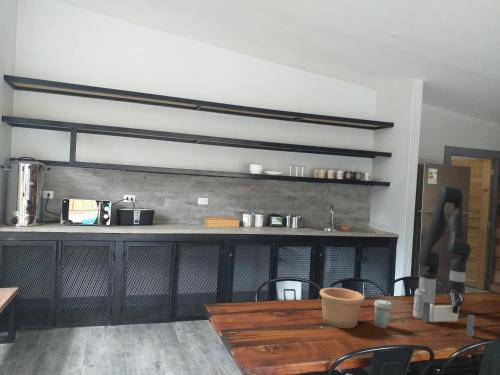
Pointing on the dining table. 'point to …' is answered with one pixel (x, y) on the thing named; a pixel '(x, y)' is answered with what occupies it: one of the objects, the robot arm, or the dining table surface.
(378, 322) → the coffee cup
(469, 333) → the gate frame
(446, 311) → the gate leaf
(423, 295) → the energy drink can
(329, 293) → the pottery
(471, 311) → the dining table surface
